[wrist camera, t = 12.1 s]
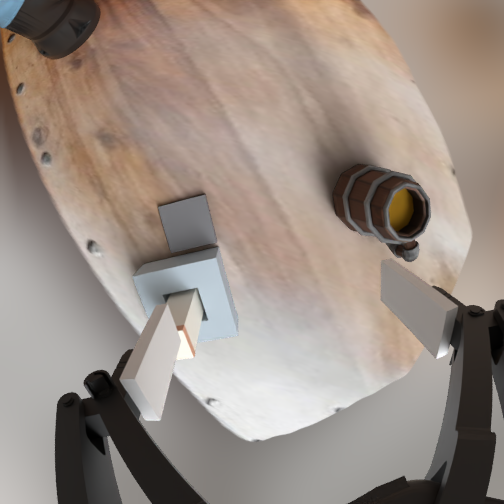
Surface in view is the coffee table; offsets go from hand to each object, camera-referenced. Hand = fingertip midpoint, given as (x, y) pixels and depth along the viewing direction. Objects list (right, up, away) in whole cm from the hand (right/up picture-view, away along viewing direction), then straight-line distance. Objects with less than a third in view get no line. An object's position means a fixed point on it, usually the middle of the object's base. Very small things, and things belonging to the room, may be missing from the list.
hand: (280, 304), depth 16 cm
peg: (-12, -5, +30) cm, 33 cm away
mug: (+19, +11, +30) cm, 37 cm away
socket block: (-13, -4, +33) cm, 35 cm away
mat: (-12, +8, +29) cm, 32 cm away
